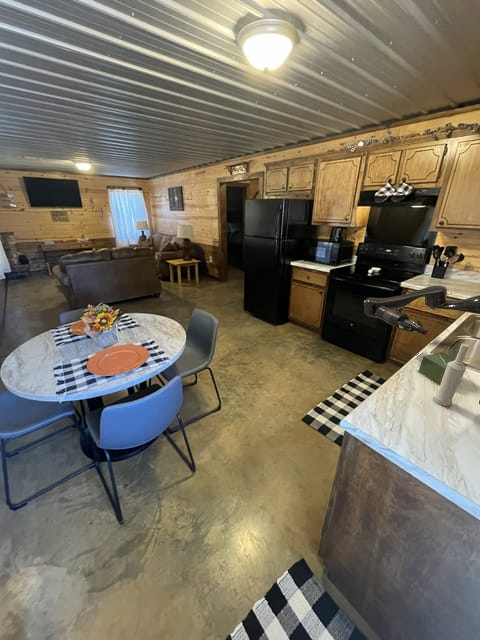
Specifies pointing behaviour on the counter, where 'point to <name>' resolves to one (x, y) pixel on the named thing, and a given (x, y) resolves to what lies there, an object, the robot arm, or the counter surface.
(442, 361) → the lid
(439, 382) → the green hinged box
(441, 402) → the bottle
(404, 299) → the robot arm
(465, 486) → the counter surface
